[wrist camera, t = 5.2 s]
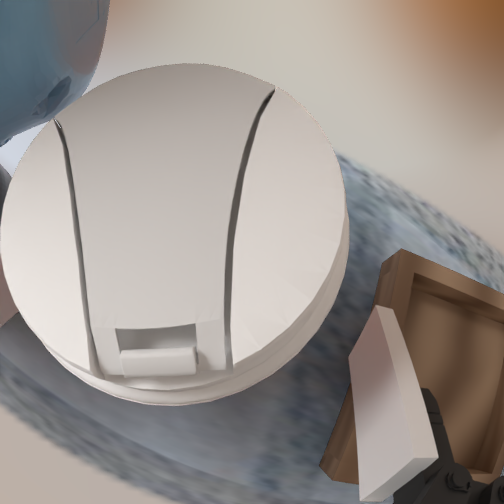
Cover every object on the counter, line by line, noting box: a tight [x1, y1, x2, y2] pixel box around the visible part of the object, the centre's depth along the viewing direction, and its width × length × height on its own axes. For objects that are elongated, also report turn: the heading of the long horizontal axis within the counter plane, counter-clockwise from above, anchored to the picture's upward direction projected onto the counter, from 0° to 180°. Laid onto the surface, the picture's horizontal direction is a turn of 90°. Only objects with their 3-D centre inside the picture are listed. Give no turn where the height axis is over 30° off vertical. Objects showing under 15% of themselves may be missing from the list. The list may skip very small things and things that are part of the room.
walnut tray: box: [319, 248, 504, 484], centre depth 17 cm, size 14×14×3 cm
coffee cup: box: [0, 64, 349, 406], centre depth 13 cm, size 8×8×15 cm
